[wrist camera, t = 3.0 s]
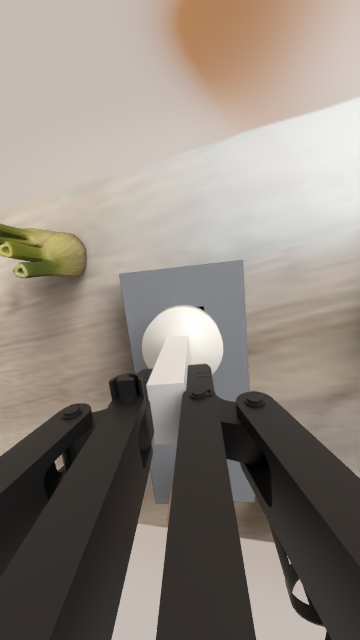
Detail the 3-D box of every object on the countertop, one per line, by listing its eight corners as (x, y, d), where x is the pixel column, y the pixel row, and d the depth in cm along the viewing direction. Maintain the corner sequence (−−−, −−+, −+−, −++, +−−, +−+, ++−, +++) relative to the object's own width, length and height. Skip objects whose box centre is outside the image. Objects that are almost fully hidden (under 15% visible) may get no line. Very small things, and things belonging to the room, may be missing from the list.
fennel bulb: (97, 274, 30) (33, 276, 18) (62, 282, 30) (-22, 290, 18) (83, 228, 28) (5, 198, 17) (48, 237, 29) (-52, 216, 17)
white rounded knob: (211, 293, 24) (220, 304, 16) (216, 346, 25) (225, 383, 17) (156, 298, 25) (136, 313, 16) (163, 351, 26) (147, 389, 18)
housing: (231, 262, 28) (242, 259, 21) (243, 455, 34) (255, 501, 27) (136, 273, 29) (118, 274, 22) (163, 458, 35) (155, 503, 28)
